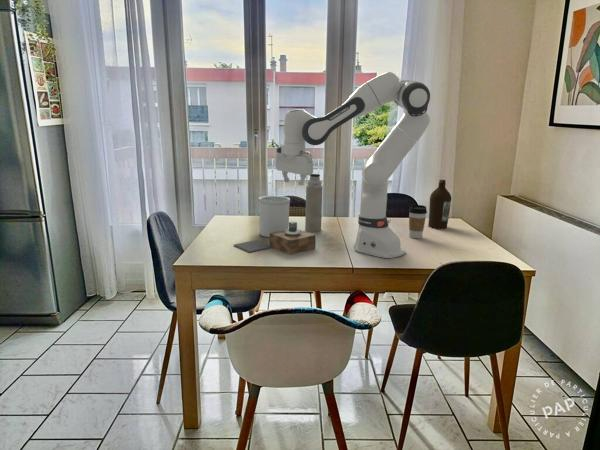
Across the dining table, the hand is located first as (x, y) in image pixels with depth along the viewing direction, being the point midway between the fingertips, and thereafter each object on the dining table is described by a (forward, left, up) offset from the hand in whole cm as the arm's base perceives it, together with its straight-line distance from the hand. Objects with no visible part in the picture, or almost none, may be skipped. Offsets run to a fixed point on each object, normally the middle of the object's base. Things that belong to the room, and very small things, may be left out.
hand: (293, 183), depth 179 cm
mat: (+11, +13, -28) cm, 33 cm away
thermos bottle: (+16, -27, -28) cm, 42 cm away
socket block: (0, 0, -28) cm, 28 cm away
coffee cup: (-23, -58, -28) cm, 68 cm away
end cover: (0, 0, -26) cm, 26 cm away
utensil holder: (+22, -7, -28) cm, 36 cm away
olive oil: (-19, -84, -28) cm, 91 cm away
